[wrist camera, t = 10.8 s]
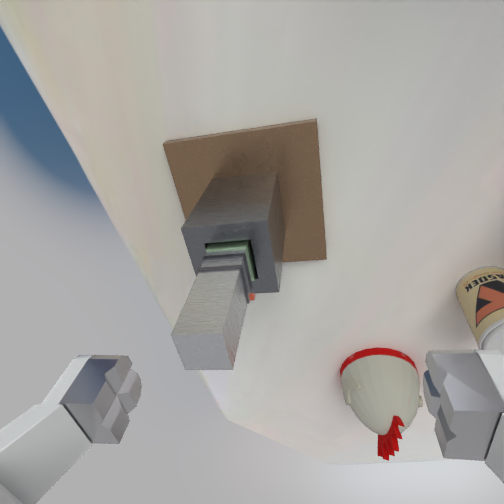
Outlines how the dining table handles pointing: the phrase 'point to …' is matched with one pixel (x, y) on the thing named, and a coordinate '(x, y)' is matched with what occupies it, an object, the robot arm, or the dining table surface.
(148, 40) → the dining table surface
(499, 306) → the coffee cup
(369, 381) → the kitchen timer
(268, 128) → the post sleeve
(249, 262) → the steel post
